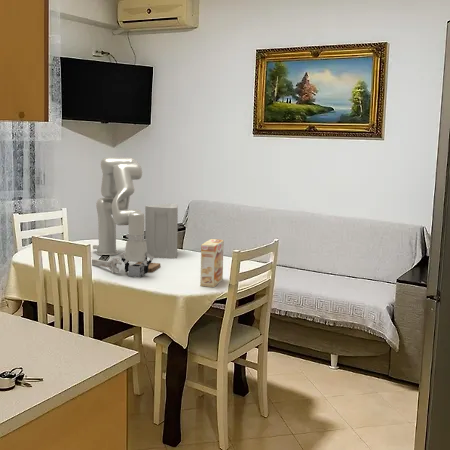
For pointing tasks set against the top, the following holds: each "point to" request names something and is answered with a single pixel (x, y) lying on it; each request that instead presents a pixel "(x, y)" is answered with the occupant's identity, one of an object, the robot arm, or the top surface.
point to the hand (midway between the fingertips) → (136, 272)
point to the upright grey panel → (161, 230)
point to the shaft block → (151, 266)
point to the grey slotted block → (136, 270)
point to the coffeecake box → (211, 262)
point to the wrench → (108, 264)
